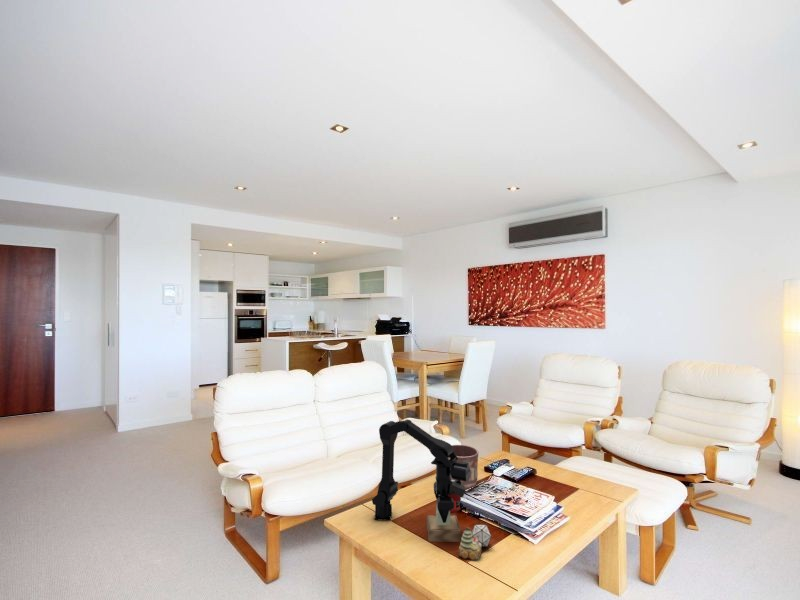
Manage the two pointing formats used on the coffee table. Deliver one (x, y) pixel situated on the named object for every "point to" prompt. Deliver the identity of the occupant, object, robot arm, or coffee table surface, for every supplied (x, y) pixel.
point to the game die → (481, 534)
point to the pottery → (470, 457)
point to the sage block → (439, 519)
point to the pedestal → (443, 530)
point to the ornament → (469, 546)
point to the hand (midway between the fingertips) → (443, 516)
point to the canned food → (455, 501)
